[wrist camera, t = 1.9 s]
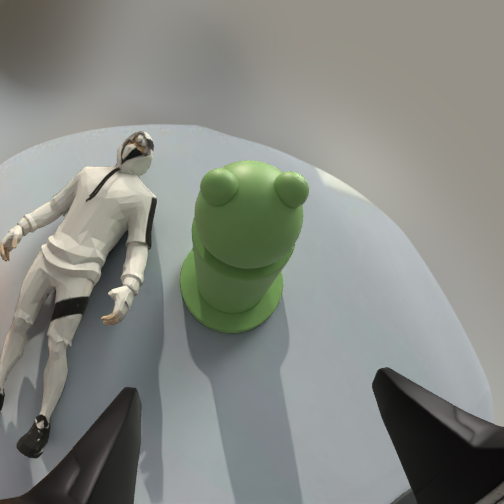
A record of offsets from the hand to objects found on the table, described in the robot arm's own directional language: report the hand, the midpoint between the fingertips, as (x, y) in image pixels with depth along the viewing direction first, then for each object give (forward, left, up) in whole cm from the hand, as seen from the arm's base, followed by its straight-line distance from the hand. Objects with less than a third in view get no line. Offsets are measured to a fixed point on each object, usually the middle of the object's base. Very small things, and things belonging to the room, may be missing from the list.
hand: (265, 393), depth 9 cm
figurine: (+3, +16, -14) cm, 21 cm away
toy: (+8, +3, -13) cm, 16 cm away
